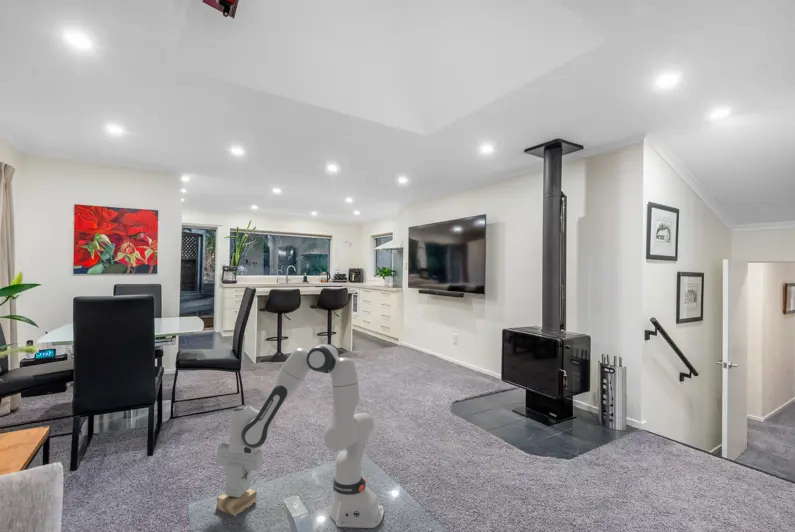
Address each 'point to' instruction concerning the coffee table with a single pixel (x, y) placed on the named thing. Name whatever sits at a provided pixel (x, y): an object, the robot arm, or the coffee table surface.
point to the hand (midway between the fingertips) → (238, 477)
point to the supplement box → (236, 480)
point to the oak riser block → (236, 502)
